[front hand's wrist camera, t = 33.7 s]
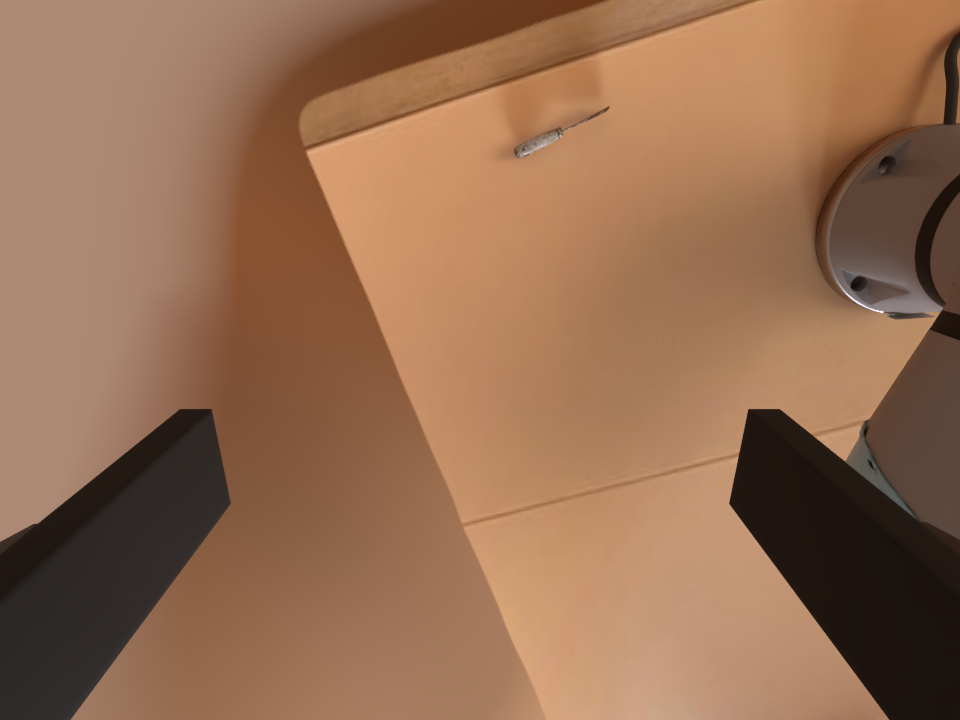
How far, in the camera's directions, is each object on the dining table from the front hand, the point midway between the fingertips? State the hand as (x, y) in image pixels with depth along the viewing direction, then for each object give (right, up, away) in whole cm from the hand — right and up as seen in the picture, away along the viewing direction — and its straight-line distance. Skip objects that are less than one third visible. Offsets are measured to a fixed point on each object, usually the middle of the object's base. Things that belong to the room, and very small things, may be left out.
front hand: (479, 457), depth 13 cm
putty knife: (+6, +21, +29) cm, 36 cm away
